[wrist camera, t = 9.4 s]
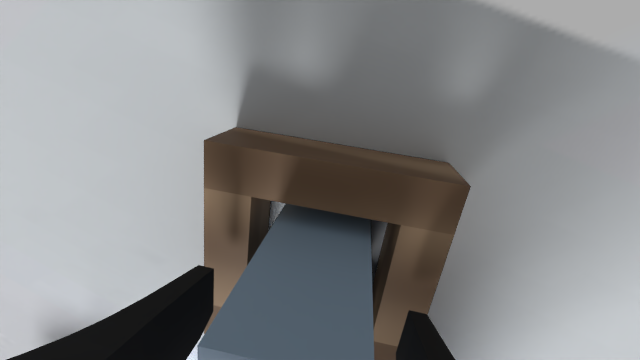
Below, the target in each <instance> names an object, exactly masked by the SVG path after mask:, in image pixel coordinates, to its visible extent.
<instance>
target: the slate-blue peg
mask: <svg viewBox="0 0 640 360" xmlns="http://www.w3.org/2000/svg"><path fill="white" fill-rule="evenodd" d="M198 360H374V330H373V293H372V256H371V219H366V218H361V217H355V216H350V215H345V214H339V213H334V212H329V211H323V210H318V209H313V208H308V207H302V206H297V205H292V204H285V206H284V207H283V209H282V211H281V212H280V214H279V215H278V217H277V219H276V220H275V222H274V223H273V225H272V227H271V228H270V230H269V231H268V233H267V235H266V236H265V238H264V240H263V241H262V243H261V244H260V246H259V248H258V249H257V251H256V252H255V254H254V256H253V257H252V259H251V261H250V262H249V264H248V265H247V267H246V269H245V270H244V272H243V273H242V275H241V277H240V278H239V280H238V281H237V283H236V285H235V286H234V288H233V290H232V291H231V293H230V294H229V296H228V298H227V299H226V301H225V302H224V304H223V306H222V307H221V309H220V310H219V312H218V314H217V315H216V317H215V319H214V320H213V322H212V323H211V325H210V327H209V328H208V330H207V331H206V333H205V335H204V336H203V338H202V340H201V341H200V343H199V344H198Z"/></svg>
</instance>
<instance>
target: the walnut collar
mask: <svg viewBox="0 0 640 360" xmlns="http://www.w3.org/2000/svg"><path fill="white" fill-rule="evenodd" d="M470 187H471V186H470V185H469V184H468V183H467V182H466V181H465V180H464V179H463V178H462V177H461V175H460V174H459V173H458V172H457V171H456V170H455V169H454V168H453V167H452V166H451V165H450V164H449V163H446V162H441V161H435V160H429V159H423V158H417V157H411V156H405V155H399V154H393V153H387V152H381V151H375V150H369V149H363V148H357V147H351V146H345V145H339V144H333V143H327V142H321V141H315V140H309V139H303V138H297V137H291V136H285V135H279V134H273V133H267V132H261V131H255V130H249V129H243V128H237V127H235V128H233V129H230V130H228V131H226V132H223V133H221V134H218V135H216V136H213V137H211V138H209V139H206V140H204V267H209V268H214V308H213V313H212V315H211V317H210V320H209V322H208V324H207V326H206V328H205V329H204V334H205V333H206V331H207V330H208V328H209V327H210V325H211V323H212V322H213V320H214V319H215V317H216V315H217V314H218V312H219V310H220V309H221V307H222V306H223V304H224V302H225V301H226V299H227V298H228V296H229V294H230V293H231V291H232V290H233V288H234V286H235V285H236V283H237V281H238V280H239V278H240V277H241V275H242V273H243V272H244V270H245V269H246V267H247V265H248V264H249V262H250V261H251V259H252V257H253V256H254V254H255V252H256V251H257V249H258V248H259V246H260V244H261V243H262V241H263V240H264V238H265V236H266V235H267V233H268V226H269V214H270V202H271V201H276V202H281V203H286V204H292V205H297V206H302V207H308V208H313V209H318V210H323V211H329V212H334V213H339V214H345V215H350V216H355V217H361V218H366V219H371V220H377V221H382V222H387V223H388V224H387V228H386V232H385V236H384V240H383V244H382V248H381V252H380V257H379V261H378V265H377V269H376V273H375V277H374V281H373V285H372V293H373V330H374V360H396V351H397V347H398V344H399V341H400V337H401V334H402V331H403V328H404V324H405V321H406V318H407V314H408V311H409V310H411V311H415V312H420V313H425V314H428V311H429V308H430V305H431V302H432V299H433V297H434V294H435V291H436V288H437V285H438V282H439V279H440V276H441V273H442V270H443V267H444V264H445V261H446V258H447V255H448V252H449V249H450V246H451V243H452V240H453V237H454V234H455V231H456V228H457V225H458V222H459V219H460V216H461V213H462V210H463V207H464V204H465V201H466V199H467V196H468V193H469V190H470Z"/></svg>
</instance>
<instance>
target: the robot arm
mask: <svg viewBox="0 0 640 360" xmlns="http://www.w3.org/2000/svg"><path fill="white" fill-rule="evenodd" d="M213 308H214V268H209V267H204V266H200V265H198V266H197V267H195V268H193V269H191V270H190V271H188V272H186V273H185V274H183V275H182V276H180V277H178V278H177V279H175V280H173V281H172V282H170V283H168V284H167V285H165V286H163V287H162V288H160V289H158V290H157V291H155V292H153V293H151V294H150V295H148V296H146V297H145V298H143V299H141V300H139V301H137V302H135V303H134V304H132V305H130V306H128V307H126V308H124V309H122V310H121V311H119V312H117V313H115V314H113V315H111V316H109V317H107V318H105V319H103V320H101V321H99V322H97V323H95V324H93V325H91V326H88V327H86V328H84V329H82V330H80V331H78V332H75V333H73V334H71V335H68V336H66V337H64V338H61V339H59V340H56V341H54V342H51V343H49V344H46V345H44V346H41V347H39V348H36V349H34V350H31V351H29V352H26V353H24V354H21V355H18V356H15V357H13V358H10V359H7V360H186V359H187V357H188V356H189V354H190V353H191V351H192V350H193V348H194V347H195V345H196V344H197V342H198V340H199V339H200V337H201V335H202V333H203V331H204V329H205V328H206V326H207V324H208V322H209V320H210V317H211V315H212V313H213ZM396 360H455V359H454V357H453V356H452V354H451V353H450V351H449V349H448V348H447V346H446V345H445V343H444V341H443V340H442V338H441V337H440V335H439V333H438V332H437V330H436V328H435V327H434V325H433V323H432V322H431V320H430V319H429V317H428V315H427V314H425V313H420V312H415V311H411V310H409V311H408V314H407V318H406V321H405V324H404V328H403V331H402V334H401V337H400V341H399V344H398V347H397V351H396Z"/></svg>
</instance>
